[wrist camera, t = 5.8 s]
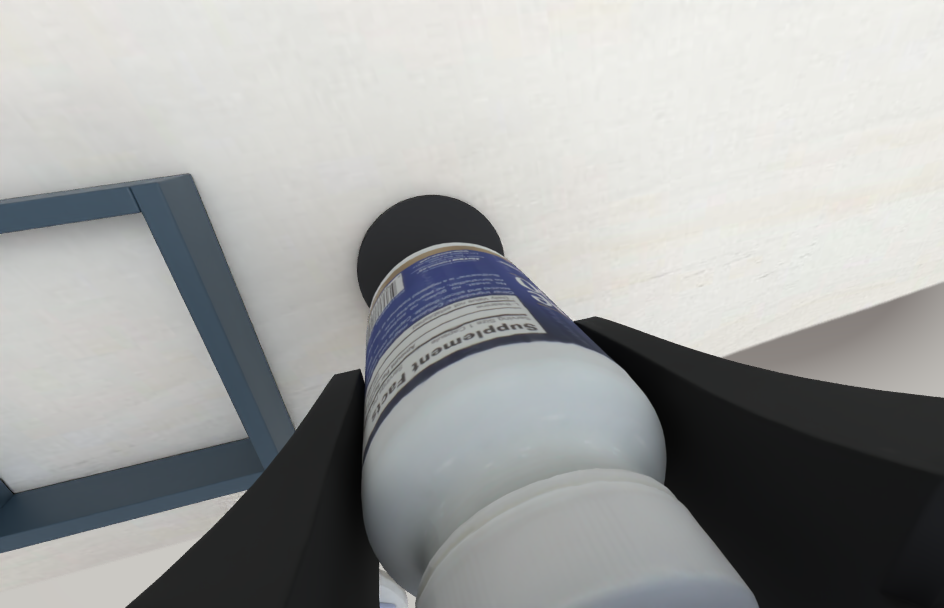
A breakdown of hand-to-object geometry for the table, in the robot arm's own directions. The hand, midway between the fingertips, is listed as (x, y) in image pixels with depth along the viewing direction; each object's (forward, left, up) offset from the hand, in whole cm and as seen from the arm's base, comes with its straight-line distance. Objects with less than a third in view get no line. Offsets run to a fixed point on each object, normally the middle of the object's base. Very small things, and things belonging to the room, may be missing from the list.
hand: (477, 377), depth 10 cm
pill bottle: (0, 0, -4) cm, 4 cm away
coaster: (0, 0, -8) cm, 8 cm away
